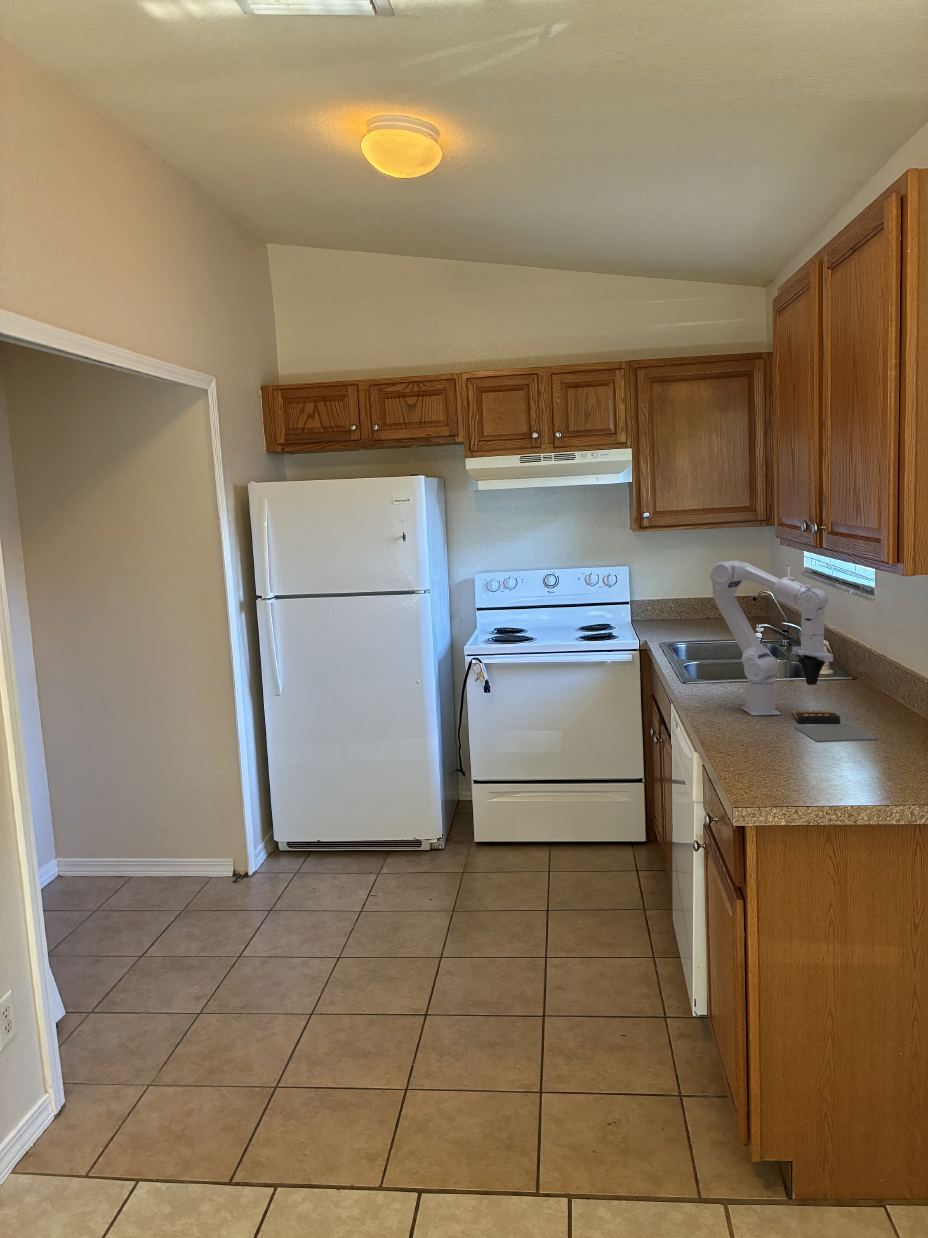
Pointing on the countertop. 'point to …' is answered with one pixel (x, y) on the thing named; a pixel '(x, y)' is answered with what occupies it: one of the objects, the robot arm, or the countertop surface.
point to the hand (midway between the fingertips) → (811, 684)
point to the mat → (834, 733)
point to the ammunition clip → (816, 717)
